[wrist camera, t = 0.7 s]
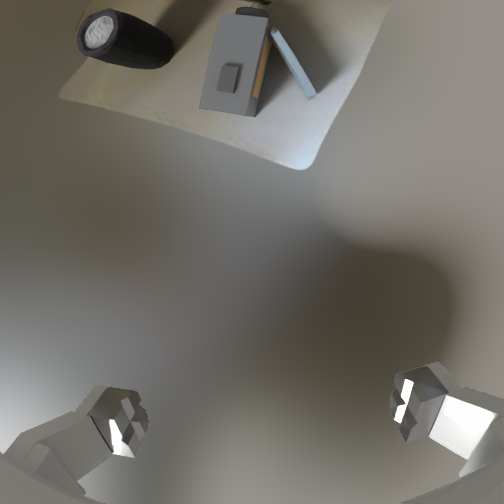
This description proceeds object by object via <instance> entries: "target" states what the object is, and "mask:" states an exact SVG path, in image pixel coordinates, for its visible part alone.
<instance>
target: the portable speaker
mask: <svg viewBox="0 0 504 504" xmlns="http://www.w3.org/2000/svg"><path fill="white" fill-rule="evenodd" d="M76 37H77V42H78V46H79V50H80V51H81V53H82V54H83V55H84V56H90V57H93V58H95V59H98V60H101V61H104V62H107V63H111V64H116V65H121V66H125V67H130V68H137V69H156V68H161V67H162V66H164V65H165V64H167V63H168V62H169V60H170V59H171V57H172V55H173V46H172V41H171V39H170V37H168V36H167V35H166V34H164V33H163V32H162V31H160V30H159V29H158V28H156V27H154V26H152V25H150V24H149V23H147V22H145V21H143V20H141V19H139V18H137V17H135V16H132V15H130V14H126V13H123V12H119V11H115V10H113V9H110V8H109V9H106V10H102V11H100V12H97V13H95V14H92V15H90V16H89V17H87V18H86V19H85V21H84V22H83V23H82V24H81V26H80V28H79V31H78V33H77V36H76Z"/></svg>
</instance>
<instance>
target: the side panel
mask: <svg viewBox="0 0 504 504" xmlns="http://www.w3.org/2000/svg"><path fill="white" fill-rule="evenodd" d="M269 31H270V35H271V38H272V41H273V44H274V45H275V47H276V48H277V50H278V51H279V53H280V55H281V56H282V58H283V59H284V61H285V63H286V64H287V66H288V68H289V69H290V71H291V73H292V74H293V76H294V78H295V79H296V81H297V83H298V85H299V86H300V88H301V90H302V92H303V93H304V95H305V97H306V99H307V101H308V100H310V99H313V98H314V97H315V96H316V94H317V93H316V91H315V89H314V88H313V86H312V84H311V82H310V81H309V79H308V77H307V75H306V74H305V72H304V70H303V69H302V67H301V65H300V64H299V62H298V60H297V59H296V57H295V55H294V54H293V52H292V51H291V49H290V47H289V46H288V44H287V43H286V41H285V40H284V38H283V37H282V35H281V34H280V32H279V31H278V29H277V28H276V27H270V29H269Z"/></svg>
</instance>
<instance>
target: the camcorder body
mask: <svg viewBox="0 0 504 504" xmlns="http://www.w3.org/2000/svg"><path fill="white" fill-rule="evenodd" d="M270 27H271V26H270V22H269V19H268V13H266V12H265V11H263V10H260V9H257V8H252V7H240V8H237V9H236V13H235V14H221V16H220V19H219V23H218V27H217V31H216V34H215V38H214V42H213V46H212V51H211V55H210V59H209V63H208V68H207V72H206V77H205V81H204V86H203V91H202V96H201V101H200V106H199V109H206V110H213V111H220V112H226V113H232V114H238V115H243V116H250V117H255V116H256V111H257V107H258V102H259V98H260V93H261V89H262V84H263V80H264V76H265V71H266V67H267V63H268V58H269V54H270V50H271V46H272V42H273V41H272V38H271V35H270V31H269V29H270Z"/></svg>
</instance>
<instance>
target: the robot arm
mask: <svg viewBox="0 0 504 504" xmlns="http://www.w3.org/2000/svg"><path fill="white" fill-rule="evenodd" d="M394 385H395V386H396V389H395V390H394V392H393V393H392V394H391V398H390V410H391V414H392V416H393V418H394V420H396V421H398V422H400V423H401V424H400V427H399V430H400V432H401V434H402V436H403V438H404V440H405V442H406V443H407V442H410V441H413V440H416V439H420V438H422V437H426V436H429V437H430V438H432V439H433V440H435V441H437V442H438V443H440V444H442V445H443V446H445V447H446V448H448V449H450V450H451V451H453V452H455V453H456V454H458V455H460V456H462V457H463V458H465V459H467V461H466V463H465V464H464V466H463V467H462V469H461V470H460V472H459V476H460V478H458V479H456V480H454V481H452V482H450V483H448V484H446V485H444V486H441V487H439V488H437V489H435V490H432V491H430V492H428V493H426V494H423V495H420V496H418V497H415V498H413V499H410V500H407V501H405V502H402V503H398V504H504V399H503V398H499V397H496V396H493V395H490V394H487V393H484V392H480V391H477V390H474V389H471V388H468V387H464V388H462V387H461V386H460V385H459V384H458V383H457V381H456V380H455V379H454V378H453V377H452V376H451V375H450V374H449V372H448V371H447V370H446V369H445V368H444V367H443V366H442V365H441V364H440V363H438V362H435V363H432V364H428V365H425V366H424V367H420V368H416V369H412V370H408V371H405V372H401V373H398V374H397V375H396V377H395V381H394ZM140 401H141V398H140V395H139V394H138V392H137V391H135V390H128V389H121V388H114V387H107V386H102V385H97V386H94V388H93V389H92V390H91V392H90V393H89V394H88V395H87V397H86V398H85V399H84V401H83V402H82V403H81V405H80V406H79V407H78V408H77V410H76V411H75V412H69V413H66V414H64V415H62V416H60V417H58V418H55V419H53V420H51V421H48V422H46V423H44V424H41V425H39V426H37V427H34V428H32V429H29V430H27V431H25V432H22V433H21V434H20V435H19V436H18V437H17V438H16V440H15V441H14V442H13V443H12V444H11V446H10V447H9V448H8V449H7V451H6V452H5V453H4V454H2V453H1V452H0V504H105V503H102V502H99V501H96V500H93V499H91V498H88V497H85V494H86V492H85V490H84V489H83V488H82V486H81V485H80V484H79V483H78V482H77V481H78V480H79V479H80V478H82V477H83V476H85V475H86V474H88V473H89V472H90V471H92V470H93V469H94V468H96V467H97V466H99V465H100V464H101V463H103V462H104V461H106V460H107V459H108V458H109V457H111V456H112V455H113V454H118V455H122V456H127V457H134V458H135V457H136V455H137V452H138V450H139V448H140V446H141V442H140V440H139V439H140V438H141V437H143V436H144V435H145V434H146V432H147V430H148V423H149V420H148V415H147V413H146V410H145V409H144V408H143V407H142V406H141V405H140Z"/></svg>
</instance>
